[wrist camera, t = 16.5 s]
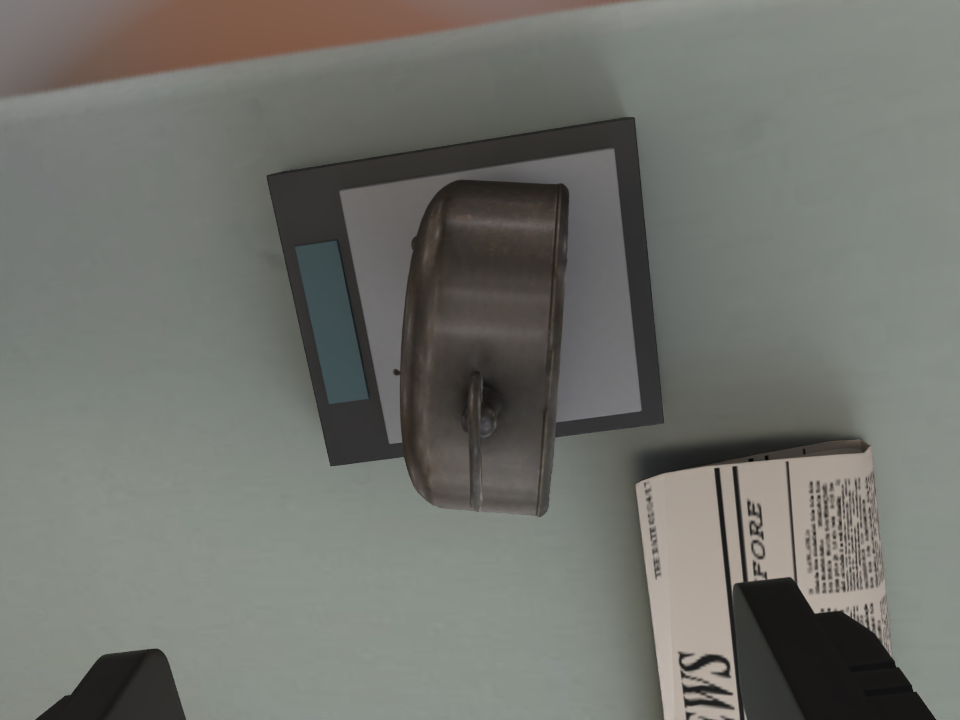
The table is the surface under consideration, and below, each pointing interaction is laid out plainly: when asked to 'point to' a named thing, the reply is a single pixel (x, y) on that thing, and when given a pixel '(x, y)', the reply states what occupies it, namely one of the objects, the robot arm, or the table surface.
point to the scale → (386, 262)
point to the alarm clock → (484, 345)
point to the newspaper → (754, 558)
